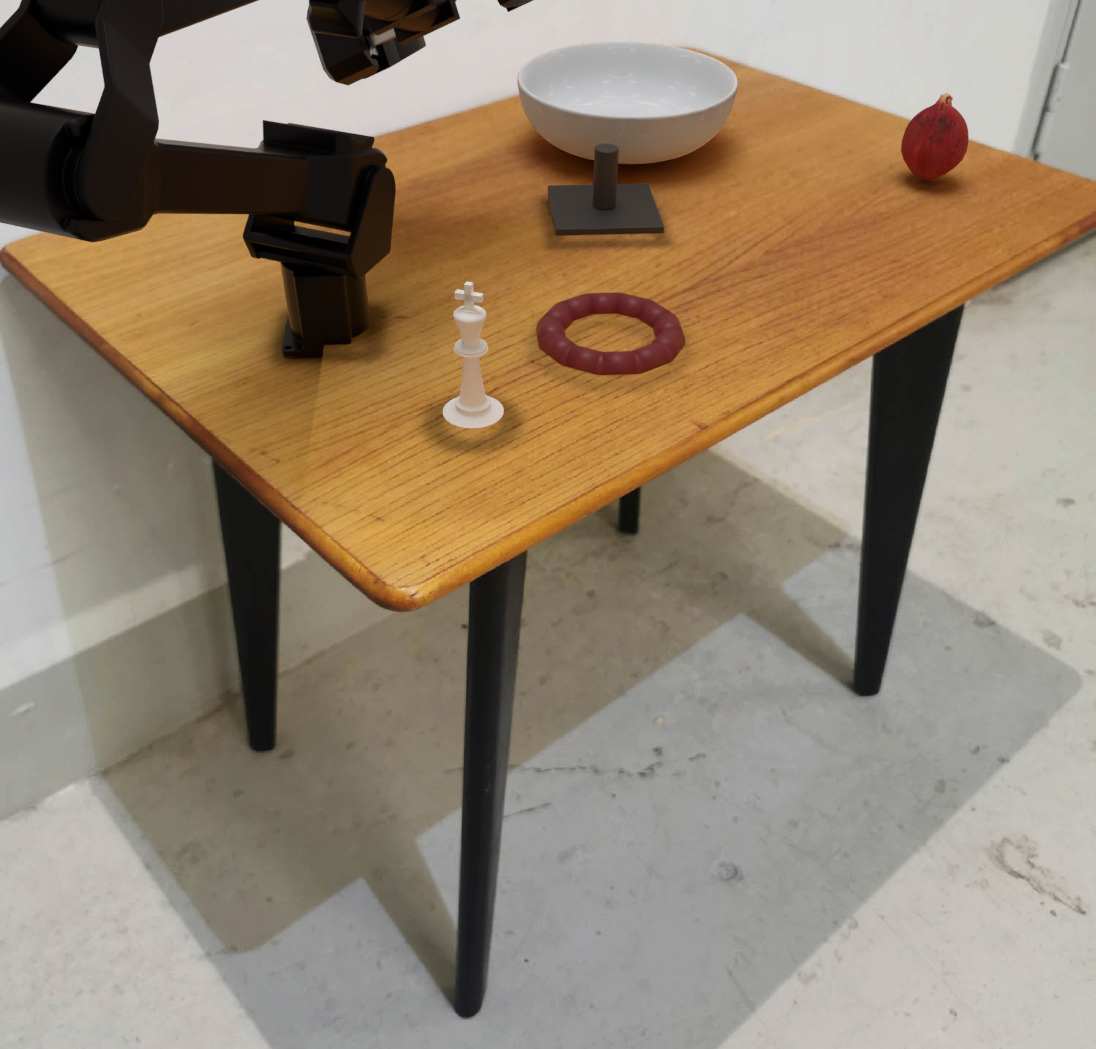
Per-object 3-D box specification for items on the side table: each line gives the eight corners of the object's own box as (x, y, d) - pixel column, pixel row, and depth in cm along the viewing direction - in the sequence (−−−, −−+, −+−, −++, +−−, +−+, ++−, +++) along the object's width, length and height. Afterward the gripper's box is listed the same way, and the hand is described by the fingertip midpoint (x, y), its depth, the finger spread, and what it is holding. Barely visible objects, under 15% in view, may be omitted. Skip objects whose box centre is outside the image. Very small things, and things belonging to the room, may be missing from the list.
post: (663, 243, 94) (669, 168, 90) (555, 246, 93) (557, 170, 89) (647, 199, 101) (652, 127, 97) (547, 201, 100) (548, 128, 96)
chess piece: (451, 396, 76) (444, 259, 69) (521, 409, 74) (520, 271, 68) (424, 437, 72) (414, 296, 66) (497, 450, 71) (494, 308, 64)
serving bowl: (473, 142, 111) (471, 70, 106) (623, 95, 122) (627, 28, 117) (623, 209, 99) (628, 132, 95) (774, 151, 110) (784, 79, 106)
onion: (955, 198, 102) (978, 109, 97) (890, 189, 103) (909, 101, 98) (959, 174, 106) (981, 88, 101) (896, 166, 107) (915, 80, 102)
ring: (693, 384, 77) (696, 358, 76) (542, 389, 76) (543, 363, 75) (669, 310, 85) (671, 286, 84) (532, 313, 84) (532, 289, 83)
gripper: (462, -216, 71) (544, -139, 86) (231, -86, 78) (343, -34, 93) (515, -39, 73) (588, 8, 87) (284, 73, 80) (386, 99, 94)
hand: (471, 17), depth 90 cm, fingers open, 9 cm apart
